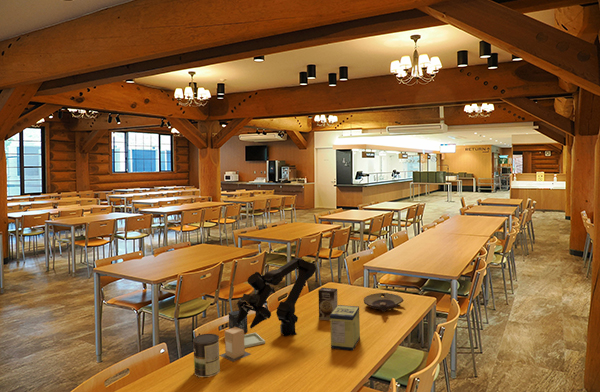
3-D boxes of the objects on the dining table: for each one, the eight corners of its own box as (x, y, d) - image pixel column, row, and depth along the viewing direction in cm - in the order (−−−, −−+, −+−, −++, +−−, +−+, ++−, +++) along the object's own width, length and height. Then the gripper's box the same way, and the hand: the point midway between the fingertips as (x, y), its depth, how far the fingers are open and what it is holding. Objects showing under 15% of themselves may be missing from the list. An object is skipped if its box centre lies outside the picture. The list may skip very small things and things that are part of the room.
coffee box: (318, 319, 235) (317, 290, 234) (322, 315, 241) (321, 287, 240) (334, 321, 232) (333, 291, 231) (338, 317, 238) (337, 288, 237)
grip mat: (237, 348, 200) (237, 348, 200) (251, 354, 193) (251, 354, 193) (219, 356, 193) (219, 355, 193) (233, 362, 186) (233, 361, 186)
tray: (255, 335, 215) (255, 332, 215) (265, 344, 204) (265, 340, 204) (231, 340, 210) (231, 337, 210) (239, 349, 199) (239, 346, 199)
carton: (236, 350, 197) (235, 326, 197) (245, 354, 193) (244, 329, 192) (225, 355, 193) (224, 330, 192) (233, 359, 188) (232, 334, 188)
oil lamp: (408, 304, 257) (408, 291, 257) (390, 319, 232) (390, 305, 231) (373, 299, 269) (373, 286, 269) (352, 313, 244) (352, 300, 243)
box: (233, 336, 215) (232, 315, 215) (229, 332, 220) (228, 312, 220) (248, 332, 220) (247, 311, 219) (243, 329, 224) (242, 309, 224)
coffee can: (192, 379, 172) (190, 344, 171) (196, 367, 182) (194, 334, 181) (219, 377, 173) (217, 342, 172) (221, 365, 183) (220, 332, 182)
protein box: (360, 338, 208) (359, 305, 207) (353, 351, 193) (352, 316, 192) (338, 336, 212) (338, 304, 211) (330, 348, 197) (329, 314, 196)
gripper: (239, 283, 205) (220, 312, 198) (265, 289, 193) (246, 321, 185) (252, 295, 212) (235, 324, 204) (279, 303, 199) (261, 333, 191)
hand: (243, 325), depth 196 cm, fingers open, 9 cm apart
